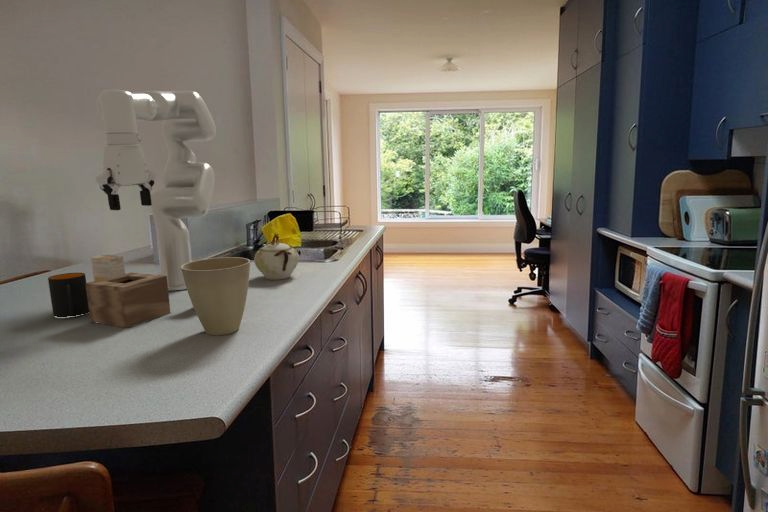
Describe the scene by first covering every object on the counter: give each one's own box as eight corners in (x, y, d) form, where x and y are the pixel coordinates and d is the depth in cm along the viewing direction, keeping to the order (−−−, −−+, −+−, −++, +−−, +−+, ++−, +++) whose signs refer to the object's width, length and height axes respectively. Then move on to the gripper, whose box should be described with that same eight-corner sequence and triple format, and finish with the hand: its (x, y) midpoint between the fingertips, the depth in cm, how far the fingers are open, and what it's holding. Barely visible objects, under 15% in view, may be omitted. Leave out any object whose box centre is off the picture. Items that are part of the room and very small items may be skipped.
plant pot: (202, 321, 123) (196, 257, 120) (262, 320, 123) (257, 256, 120) (176, 342, 108) (168, 270, 106) (243, 341, 108) (238, 269, 105)
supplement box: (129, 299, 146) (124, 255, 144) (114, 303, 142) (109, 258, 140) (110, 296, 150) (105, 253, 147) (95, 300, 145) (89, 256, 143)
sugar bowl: (309, 279, 167) (307, 234, 164) (266, 285, 159) (262, 239, 156) (288, 269, 183) (286, 229, 181) (248, 275, 176) (244, 232, 173)
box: (90, 322, 124) (85, 283, 123) (135, 308, 136) (130, 272, 134) (127, 327, 119) (122, 287, 117) (170, 312, 131) (166, 275, 129)
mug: (53, 324, 124) (47, 283, 122) (53, 313, 134) (48, 275, 132) (91, 318, 128) (86, 278, 126) (89, 307, 138) (84, 271, 136)
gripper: (140, 141, 137) (148, 203, 140) (80, 141, 121) (91, 211, 125) (160, 140, 134) (167, 204, 137) (102, 140, 118) (112, 212, 122)
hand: (131, 207), depth 131 cm, fingers open, 9 cm apart
